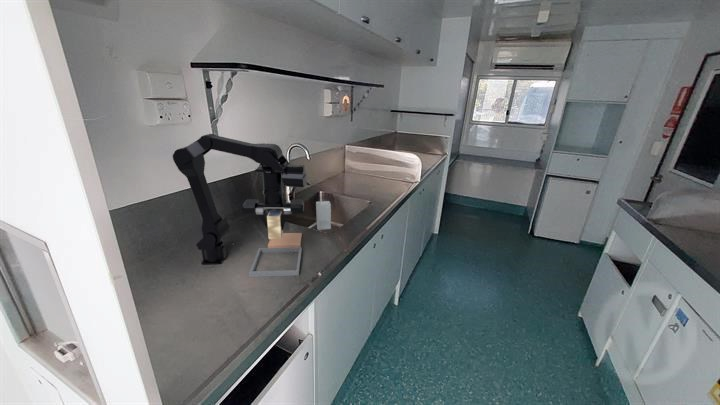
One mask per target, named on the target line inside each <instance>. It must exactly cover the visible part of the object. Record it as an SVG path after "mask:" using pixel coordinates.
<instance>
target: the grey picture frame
mask: <svg viewBox="0 0 720 405" xmlns="http://www.w3.org/2000/svg"><path fill="white" fill-rule="evenodd" d="M302 248H303V247H301V246H300V247H287V248H268V247H259V248H258V249H257V251H256V254H255V256H254V259H253V261H252V264H251V267H250V270H249V272H248V275H249V277H250V278H255V277H256V278H257V277H285V276H287V277H288V276H289V277H291V276H292V277H294V276H299V275H300V268H301V262H302V261H301V260H302V253H303V249H302ZM292 252H293V253H298V254H297V255H298V256H297V263H296V269H294V270H290V269H288V270H287V269H286V270H255V269H256V267H257V265H258V262H259V260H260V257H261V254H263V253H292Z"/></svg>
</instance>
